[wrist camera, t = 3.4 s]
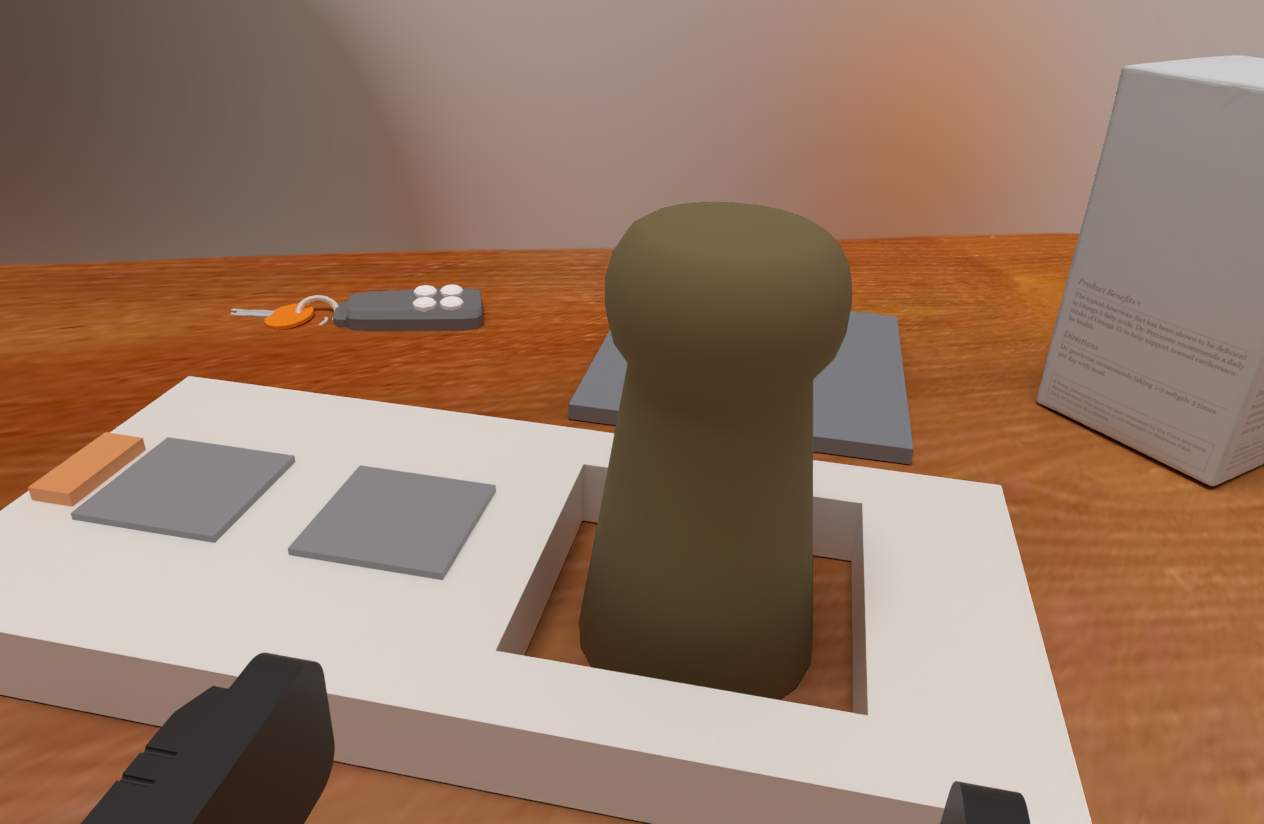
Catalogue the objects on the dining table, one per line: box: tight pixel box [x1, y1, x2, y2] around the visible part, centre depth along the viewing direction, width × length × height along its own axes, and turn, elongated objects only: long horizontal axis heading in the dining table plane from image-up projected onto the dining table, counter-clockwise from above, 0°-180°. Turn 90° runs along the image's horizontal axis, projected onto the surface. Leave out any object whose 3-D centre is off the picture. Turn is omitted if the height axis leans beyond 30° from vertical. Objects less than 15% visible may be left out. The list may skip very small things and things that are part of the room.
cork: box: [579, 202, 852, 700], centre depth 22 cm, size 6×6×11 cm
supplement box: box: [1036, 55, 1264, 486], centre depth 33 cm, size 7×7×13 cm
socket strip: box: [0, 376, 1092, 824], centre depth 25 cm, size 26×12×2 cm, turn 79°
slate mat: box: [569, 311, 913, 464], centre depth 38 cm, size 12×12×1 cm
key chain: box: [231, 285, 483, 331], centre depth 41 cm, size 13×4×2 cm, turn 99°
